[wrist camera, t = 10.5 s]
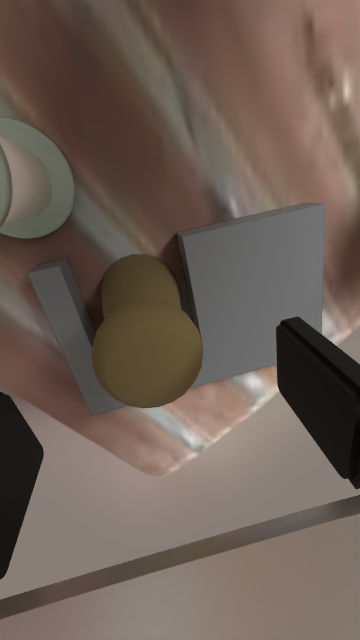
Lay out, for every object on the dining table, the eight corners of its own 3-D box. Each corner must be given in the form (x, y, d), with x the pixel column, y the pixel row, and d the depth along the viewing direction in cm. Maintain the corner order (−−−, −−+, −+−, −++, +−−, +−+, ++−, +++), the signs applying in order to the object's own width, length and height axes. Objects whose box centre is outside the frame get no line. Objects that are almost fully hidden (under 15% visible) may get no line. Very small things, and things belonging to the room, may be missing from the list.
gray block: (303, 203, 21) (325, 203, 19) (304, 338, 26) (320, 351, 24) (38, 264, 19) (26, 273, 17) (94, 395, 24) (91, 415, 22)
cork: (182, 321, 23) (224, 413, 13) (109, 334, 22) (96, 441, 12) (173, 248, 21) (216, 294, 11) (91, 260, 20) (55, 322, 10)
